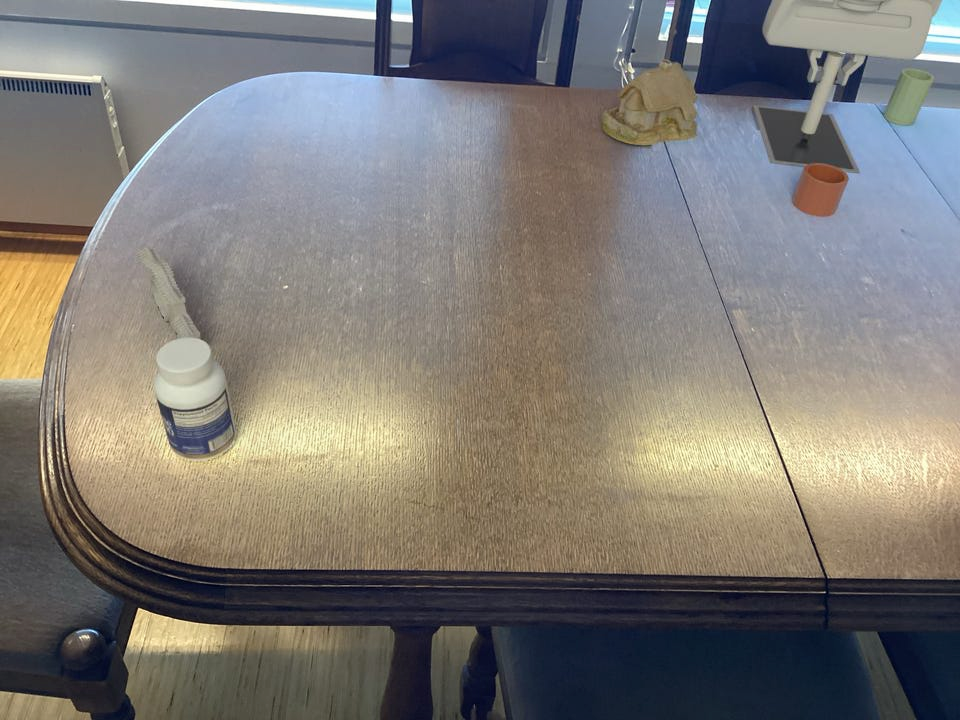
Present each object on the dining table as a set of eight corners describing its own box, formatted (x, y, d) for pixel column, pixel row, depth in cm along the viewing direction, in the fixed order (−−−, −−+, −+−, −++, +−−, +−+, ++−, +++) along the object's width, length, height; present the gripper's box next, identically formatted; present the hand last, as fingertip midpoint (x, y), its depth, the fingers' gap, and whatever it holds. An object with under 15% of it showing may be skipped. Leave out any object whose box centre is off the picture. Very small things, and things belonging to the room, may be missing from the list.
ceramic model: (657, 104, 124) (672, 38, 117) (712, 135, 117) (731, 67, 111) (587, 124, 117) (598, 55, 111) (641, 158, 111) (657, 86, 104)
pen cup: (909, 114, 128) (929, 70, 123) (917, 127, 124) (938, 82, 120) (879, 110, 128) (898, 66, 123) (887, 123, 125) (906, 79, 120)
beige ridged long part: (206, 356, 76) (196, 306, 72) (187, 363, 75) (175, 312, 71) (165, 287, 83) (153, 238, 79) (147, 292, 82) (134, 243, 78)
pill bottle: (171, 421, 70) (148, 334, 63) (236, 414, 71) (220, 327, 64) (168, 469, 66) (143, 381, 59) (237, 460, 67) (220, 374, 60)
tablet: (830, 119, 124) (832, 113, 124) (857, 177, 111) (860, 171, 110) (751, 109, 125) (753, 104, 124) (768, 166, 112) (770, 161, 111)
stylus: (811, 135, 117) (841, 52, 109) (813, 141, 116) (845, 58, 108) (797, 133, 117) (826, 50, 109) (799, 140, 116) (829, 56, 108)
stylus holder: (829, 200, 106) (843, 165, 102) (838, 222, 102) (853, 187, 98) (787, 195, 106) (800, 160, 103) (794, 217, 102) (808, 182, 99)
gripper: (940, -24, 104) (896, 81, 113) (779, -41, 105) (748, 65, 114) (956, -8, 99) (909, 101, 108) (787, -26, 100) (754, 83, 109)
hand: (825, 82), depth 111 cm, fingers closed on stylus, 2 cm apart
